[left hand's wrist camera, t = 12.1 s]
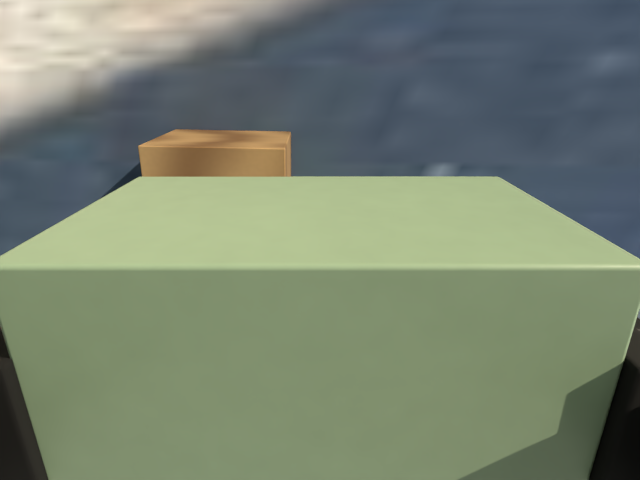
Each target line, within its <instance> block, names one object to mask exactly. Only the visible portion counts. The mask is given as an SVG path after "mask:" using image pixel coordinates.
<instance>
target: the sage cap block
mask: <svg viewBox="0 0 640 480" xmlns="http://www.w3.org/2000/svg"><path fill="white" fill-rule="evenodd" d="M639 309H640V259H639V258H637V257H635V256H633V255H632V254H630V253H628V252H627V251H625V250H623V249H621V248H620V247H618V246H616V245H615V244H613V243H611V242H609V241H608V240H606V239H604V238H603V237H601V236H599V235H597V234H596V233H594V232H592V231H591V230H589V229H587V228H585V227H584V226H582V225H580V224H578V223H577V222H575V221H573V220H572V219H570V218H568V217H566V216H565V215H563V214H561V213H560V212H558V211H556V210H554V209H553V208H551V207H549V206H548V205H546V204H544V203H542V202H541V201H539V200H537V199H536V198H534V197H532V196H530V195H529V194H527V193H525V192H523V191H522V190H520V189H518V188H517V187H515V186H513V185H511V184H510V183H508V182H506V181H505V180H503V179H501V178H499V177H138V178H136V179H134V180H132V181H131V182H129V183H127V184H125V185H124V186H122V187H120V188H118V189H117V190H115V191H113V192H111V193H110V194H108V195H106V196H104V197H103V198H101V199H99V200H97V201H96V202H94V203H92V204H90V205H89V206H87V207H85V208H83V209H82V210H80V211H78V212H76V213H75V214H73V215H71V216H69V217H68V218H66V219H64V220H62V221H61V222H59V223H57V224H55V225H54V226H52V227H50V228H48V229H47V230H45V231H43V232H41V233H40V234H38V235H36V236H34V237H33V238H31V239H29V240H27V241H26V242H24V243H22V244H20V245H19V246H17V247H15V248H13V249H12V250H10V251H8V252H6V253H5V254H3V255H1V256H0V327H1V330H2V333H3V336H4V340H5V343H6V346H7V350H8V353H9V356H10V359H12V361H13V364H14V367H15V371H16V374H17V377H18V381H19V384H20V387H21V391H22V394H23V397H24V400H25V404H26V407H27V410H28V414H29V417H30V420H31V424H32V427H33V430H34V434H35V437H36V440H37V444H38V447H39V450H40V453H41V457H42V460H43V463H44V467H45V470H46V473H47V477H48V480H589V476H590V473H591V470H592V466H593V463H594V460H595V456H596V453H597V450H598V446H599V443H600V440H601V436H602V433H603V430H604V426H605V423H606V420H607V416H608V413H609V409H610V406H611V403H612V399H613V396H614V393H615V389H616V386H617V383H618V379H619V376H620V373H621V369H622V366H623V363H624V359H625V356H626V353H627V349H628V346H629V342H630V339H631V336H632V332H633V329H634V326H635V322H636V319H637V316H638V312H639Z"/></svg>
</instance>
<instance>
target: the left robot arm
mask: <svg viewBox="0 0 640 480" xmlns="http://www.w3.org/2000/svg"><path fill="white" fill-rule="evenodd" d="M0 480H48V477H47V473H46V470H45V467H44V463H43V460H42V457H41V453H40V450H39V447H38V444H37V440H36V437H35V434H34V430H33V427H32V424H31V420H30V417H29V414H28V410H27V407H26V404H25V400H24V397H23V394H22V391H21V387H20V384H19V381H18V377H17V374H16V371H15V367H14V364H13V361H12V359H10V356H9V353H8V350H7V346H6V343H5V340H4V336H3V333H2V330H1V327H0ZM589 480H640V319H639V318H638V317H637V319H636V322H635V326H634V329H633V332H632V336H631V339H630V342H629V346H628V349H627V353H626V356H625V359H624V363H623V366H622V369H621V373H620V376H619V379H618V383H617V386H616V389H615V393H614V396H613V399H612V403H611V406H610V409H609V413H608V416H607V420H606V423H605V426H604V430H603V433H602V436H601V440H600V443H599V446H598V450H597V453H596V456H595V460H594V463H593V466H592V470H591V473H590V476H589Z"/></svg>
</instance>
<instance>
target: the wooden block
mask: <svg viewBox="0 0 640 480" xmlns="http://www.w3.org/2000/svg"><path fill="white" fill-rule="evenodd" d="M138 149H139V157H140V165H141V173H142V177H291V132H276V131H227V130H178V129H176V130H173V131H171V132H169V133H167V134H164V135H162V136H160V137H157V138H155V139H153V140H151V141H148V142H146V143H144V144H142V145H139V146H138Z"/></svg>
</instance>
